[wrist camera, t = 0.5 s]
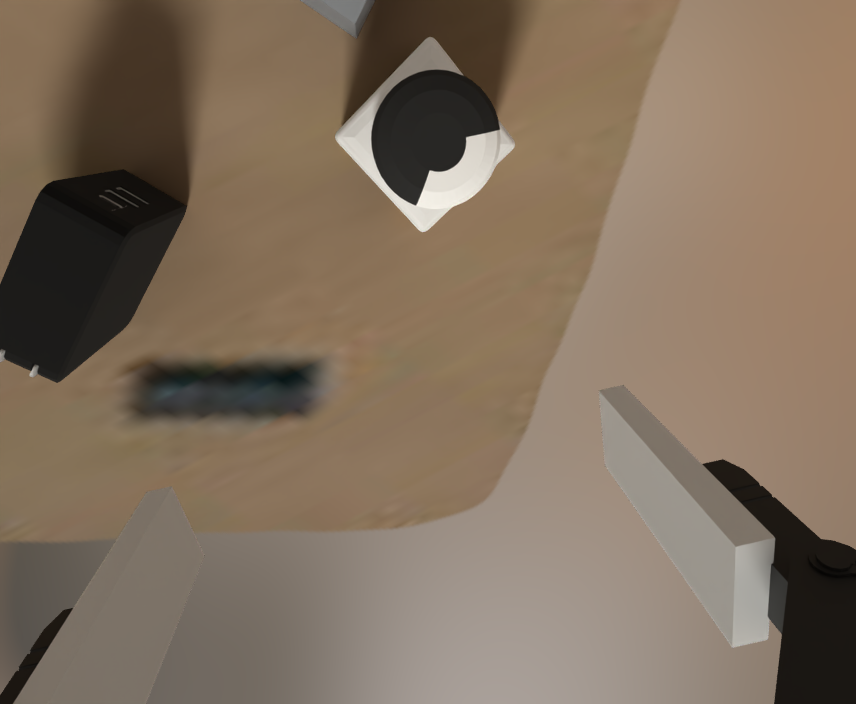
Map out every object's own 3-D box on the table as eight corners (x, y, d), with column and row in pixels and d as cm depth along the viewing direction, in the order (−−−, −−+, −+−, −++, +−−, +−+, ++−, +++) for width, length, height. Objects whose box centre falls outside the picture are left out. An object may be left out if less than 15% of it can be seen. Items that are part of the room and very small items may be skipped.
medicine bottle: (338, 135, 35) (325, 137, 24) (418, 51, 33) (445, 12, 22) (413, 217, 37) (433, 254, 26) (491, 142, 36) (547, 147, 25)
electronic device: (191, 204, 35) (129, 231, 26) (129, 326, 38) (53, 389, 29) (128, 167, 34) (40, 181, 25) (68, 296, 37) (-31, 351, 28)
